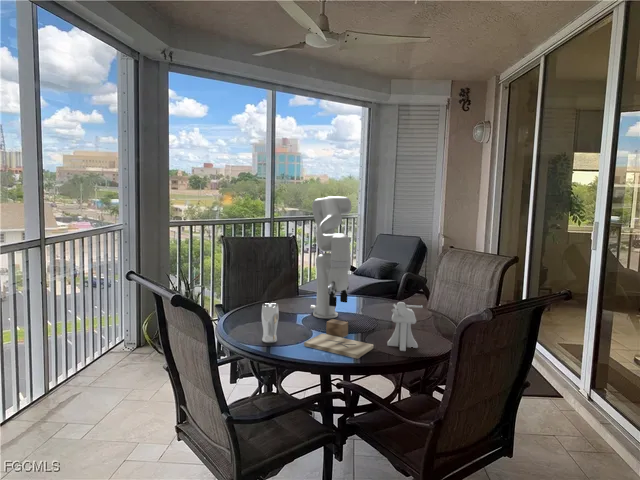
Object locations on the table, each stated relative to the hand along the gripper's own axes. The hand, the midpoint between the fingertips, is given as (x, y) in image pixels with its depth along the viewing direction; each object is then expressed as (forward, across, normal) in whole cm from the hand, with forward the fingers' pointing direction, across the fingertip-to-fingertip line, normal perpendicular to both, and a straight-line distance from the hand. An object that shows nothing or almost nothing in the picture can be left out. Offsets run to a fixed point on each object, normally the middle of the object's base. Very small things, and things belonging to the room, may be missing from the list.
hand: (338, 304), depth 189 cm
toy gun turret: (+14, -5, +28) cm, 32 cm away
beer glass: (+14, +22, -20) cm, 33 cm away
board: (+14, +12, +7) cm, 20 cm away
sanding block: (+14, -1, -1) cm, 14 cm away
